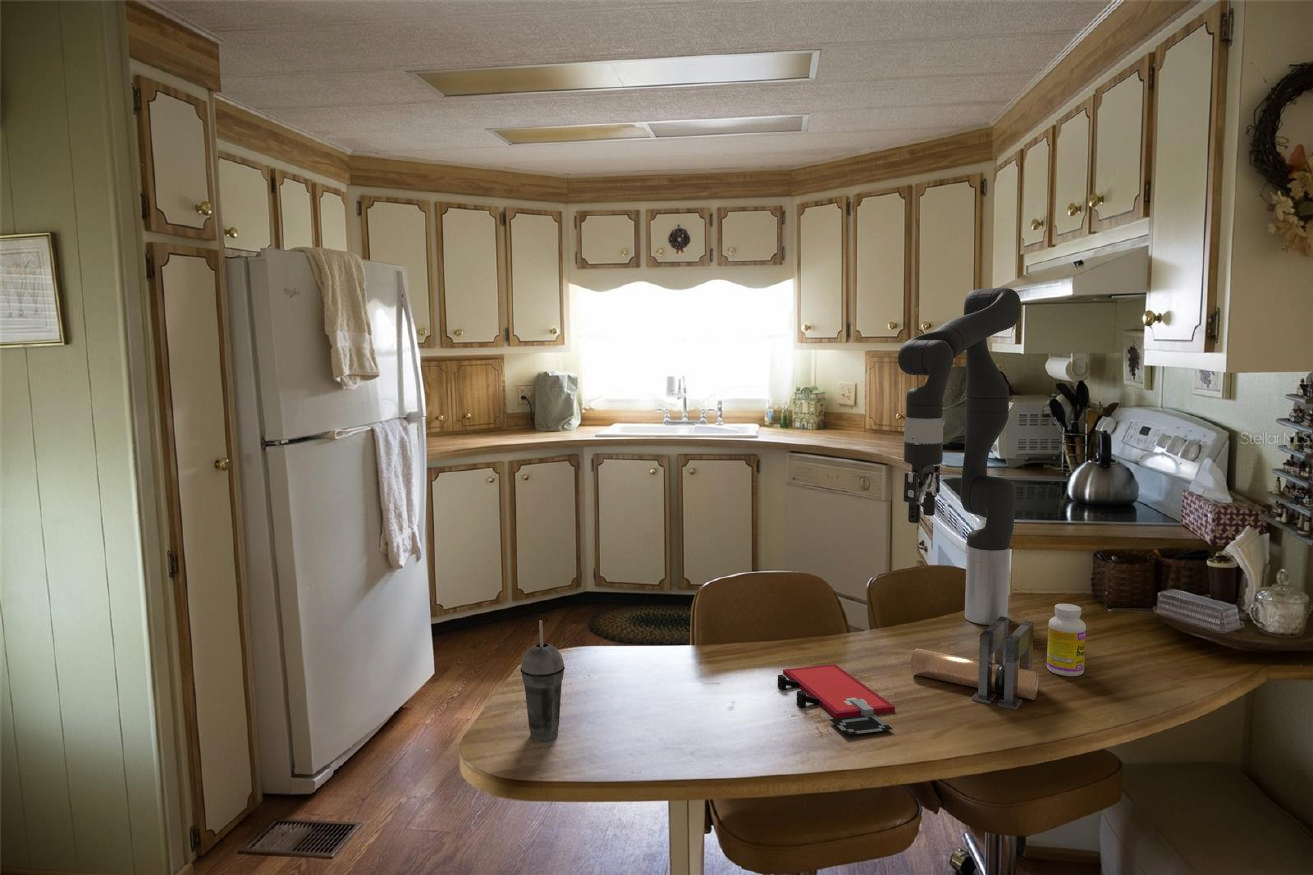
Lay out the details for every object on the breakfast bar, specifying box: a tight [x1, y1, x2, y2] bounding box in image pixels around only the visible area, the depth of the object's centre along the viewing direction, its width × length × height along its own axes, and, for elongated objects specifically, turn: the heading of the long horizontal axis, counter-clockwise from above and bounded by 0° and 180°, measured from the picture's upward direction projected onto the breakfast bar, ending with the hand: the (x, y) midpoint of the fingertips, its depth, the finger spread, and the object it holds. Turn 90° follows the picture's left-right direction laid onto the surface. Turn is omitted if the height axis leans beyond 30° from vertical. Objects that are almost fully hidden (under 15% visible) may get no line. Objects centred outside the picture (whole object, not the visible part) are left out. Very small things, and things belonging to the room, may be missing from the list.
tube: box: [910, 648, 1040, 701], centre depth 169 cm, size 22×5×5 cm, turn 54°
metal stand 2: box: [996, 620, 1034, 711], centre depth 164 cm, size 15×3×12 cm, turn 144°
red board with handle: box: [777, 663, 896, 735], centre depth 163 cm, size 30×3×15 cm
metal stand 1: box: [971, 616, 1009, 705], centre depth 167 cm, size 15×3×12 cm, turn 144°
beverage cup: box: [520, 619, 566, 743], centre depth 149 cm, size 7×7×20 cm
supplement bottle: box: [1046, 603, 1087, 677], centre depth 175 cm, size 7×7×13 cm
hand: (921, 519), depth 184 cm, fingers open, 8 cm apart
